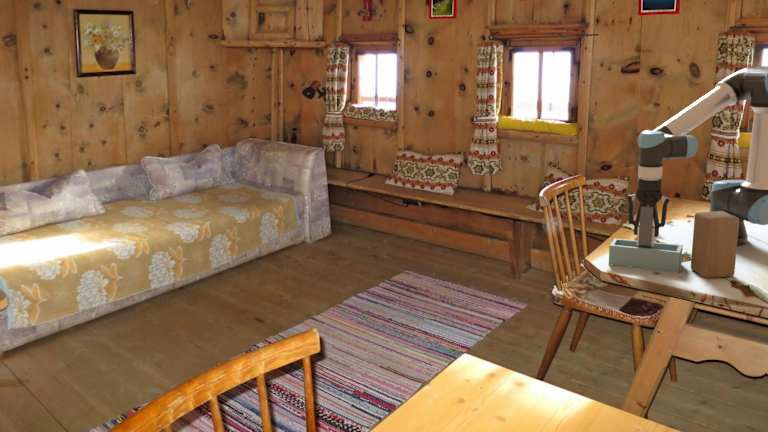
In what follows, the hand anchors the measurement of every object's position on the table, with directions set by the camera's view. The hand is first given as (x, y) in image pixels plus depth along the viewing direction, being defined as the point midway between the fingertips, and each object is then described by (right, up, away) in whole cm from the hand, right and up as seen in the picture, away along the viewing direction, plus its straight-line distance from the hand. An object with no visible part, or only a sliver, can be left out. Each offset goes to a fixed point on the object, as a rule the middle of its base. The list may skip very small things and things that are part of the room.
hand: (645, 244), depth 227 cm
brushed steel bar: (0, -2, +1) cm, 2 cm away
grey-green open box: (0, -7, +2) cm, 7 cm away
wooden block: (+18, -9, -9) cm, 22 cm away
